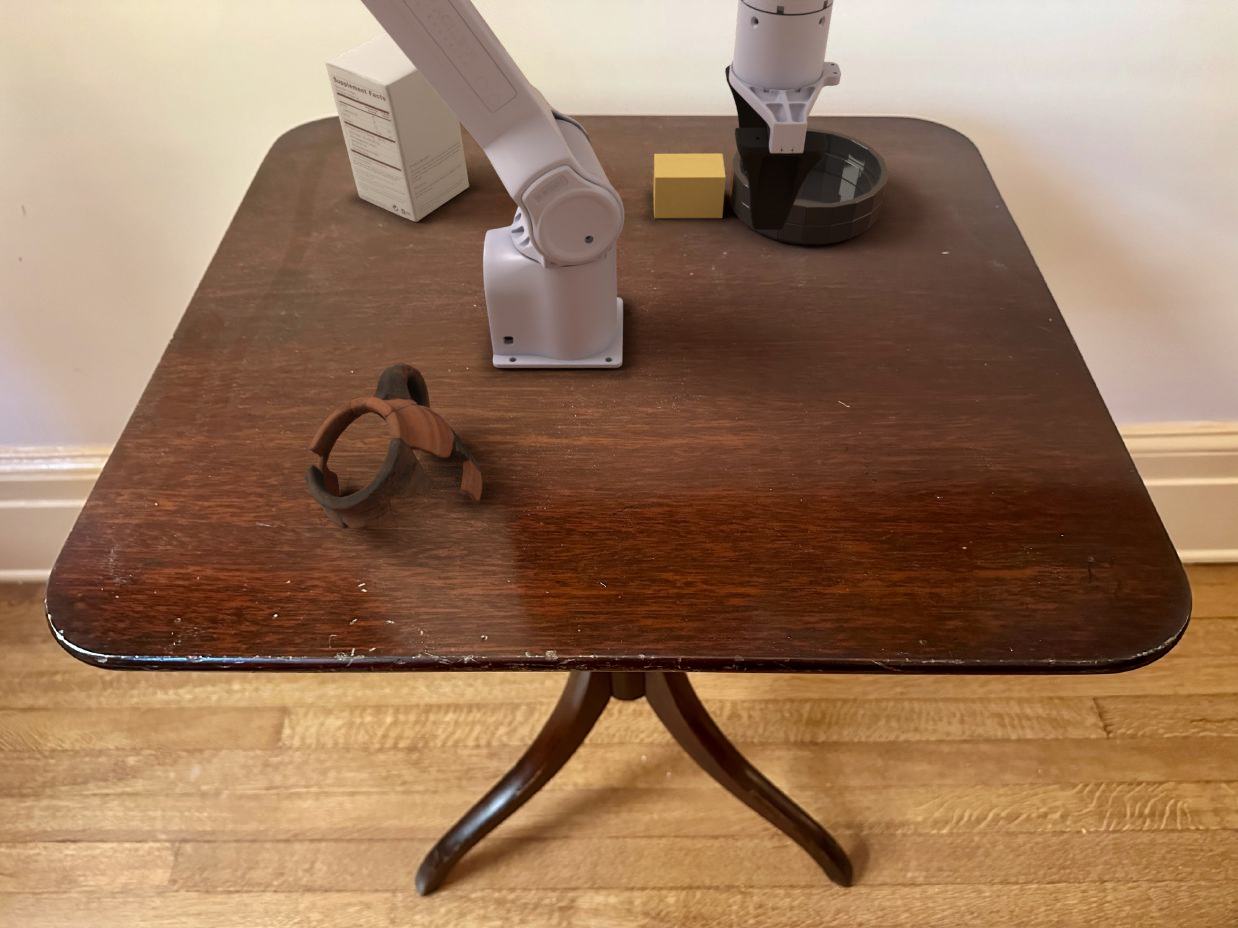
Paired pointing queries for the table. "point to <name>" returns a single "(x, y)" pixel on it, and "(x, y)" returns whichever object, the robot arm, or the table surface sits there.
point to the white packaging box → (396, 130)
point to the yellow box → (689, 185)
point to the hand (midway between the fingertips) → (762, 197)
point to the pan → (825, 194)
